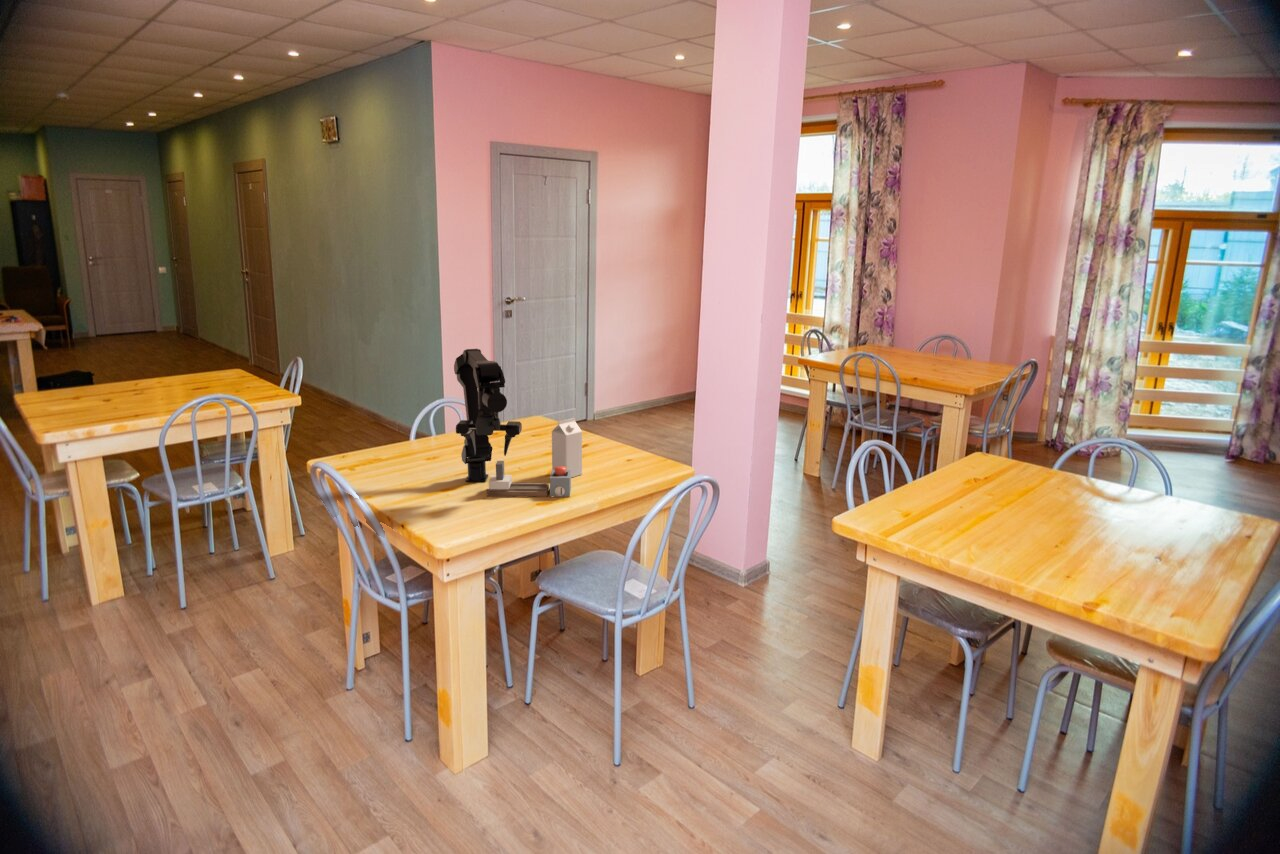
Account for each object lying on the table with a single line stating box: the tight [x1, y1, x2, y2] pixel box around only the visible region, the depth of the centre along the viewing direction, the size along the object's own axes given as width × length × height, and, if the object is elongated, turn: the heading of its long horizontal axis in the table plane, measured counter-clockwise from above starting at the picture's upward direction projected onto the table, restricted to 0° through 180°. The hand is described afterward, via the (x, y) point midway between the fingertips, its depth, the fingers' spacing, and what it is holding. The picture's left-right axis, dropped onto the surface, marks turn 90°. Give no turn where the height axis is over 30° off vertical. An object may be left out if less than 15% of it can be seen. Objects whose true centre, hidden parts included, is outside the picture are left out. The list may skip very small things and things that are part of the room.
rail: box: [486, 482, 550, 498], centre depth 235 cm, size 8×18×2 cm, turn 92°
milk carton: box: [551, 417, 583, 478], centre depth 251 cm, size 7×7×19 cm
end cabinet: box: [549, 469, 572, 498], centre depth 235 cm, size 8×6×6 cm
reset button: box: [555, 466, 566, 476], centre depth 234 cm, size 4×4×3 cm
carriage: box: [488, 460, 513, 489], centre depth 234 cm, size 7×6×7 cm
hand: (489, 455), depth 229 cm, fingers open, 9 cm apart
